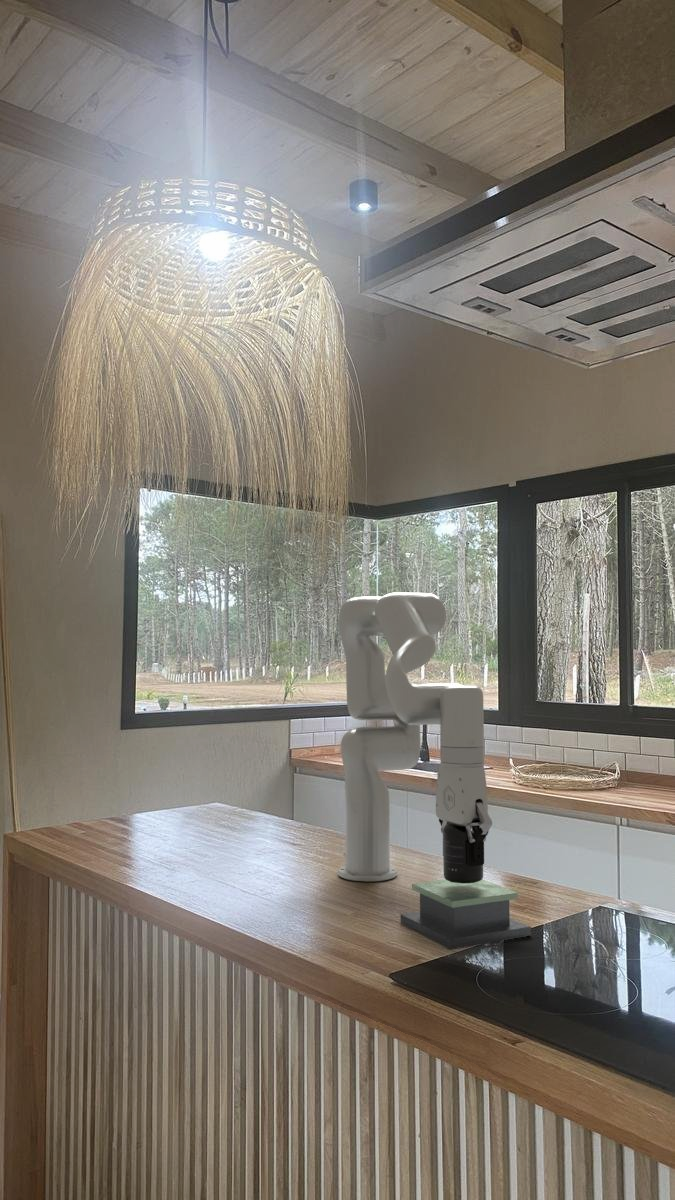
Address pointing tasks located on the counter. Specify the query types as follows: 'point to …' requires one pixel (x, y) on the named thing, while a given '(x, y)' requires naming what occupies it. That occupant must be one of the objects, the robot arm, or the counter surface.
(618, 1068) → the counter surface
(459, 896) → the stand
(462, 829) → the supplement bottle
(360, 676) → the robot arm
